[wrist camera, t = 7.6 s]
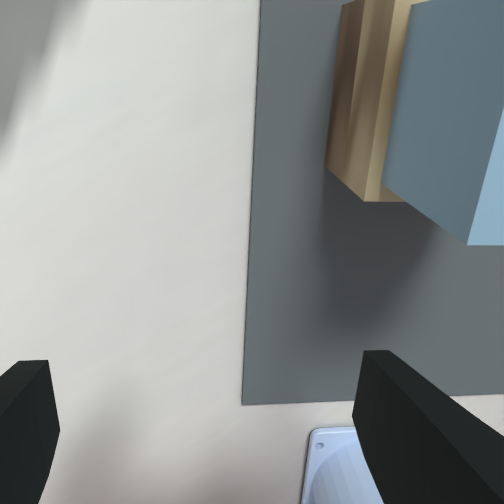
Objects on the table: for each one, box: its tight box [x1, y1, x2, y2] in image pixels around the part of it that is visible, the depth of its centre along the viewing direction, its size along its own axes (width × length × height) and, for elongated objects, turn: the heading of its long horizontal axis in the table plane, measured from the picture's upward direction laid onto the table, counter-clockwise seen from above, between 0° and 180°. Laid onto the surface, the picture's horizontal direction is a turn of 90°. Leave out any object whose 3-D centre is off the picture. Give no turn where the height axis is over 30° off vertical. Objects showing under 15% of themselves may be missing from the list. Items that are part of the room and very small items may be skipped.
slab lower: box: [324, 0, 365, 180], centre depth 17 cm, size 6×6×2 cm
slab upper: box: [341, 0, 429, 202], centre depth 15 cm, size 6×6×2 cm
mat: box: [242, 0, 504, 405], centre depth 20 cm, size 24×22×1 cm
